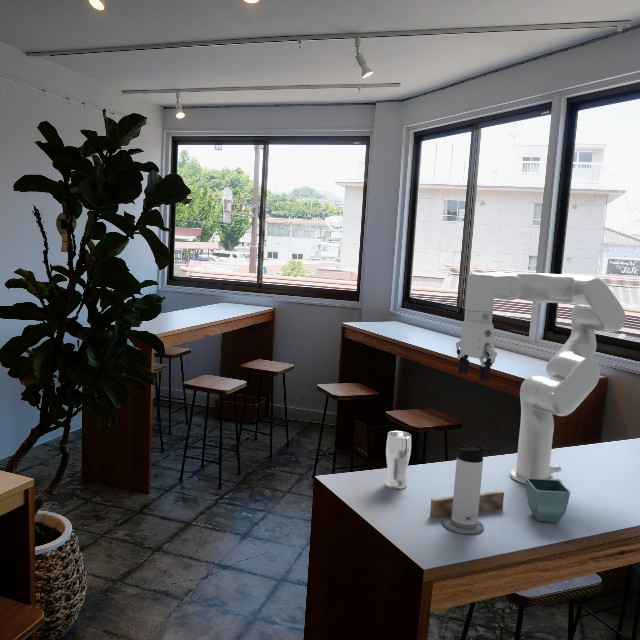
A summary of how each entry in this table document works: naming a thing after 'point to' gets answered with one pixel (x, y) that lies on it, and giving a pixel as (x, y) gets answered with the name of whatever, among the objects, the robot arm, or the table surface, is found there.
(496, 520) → the table surface
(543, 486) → the flower pot
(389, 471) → the beer glass
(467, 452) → the travel mug
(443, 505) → the rail
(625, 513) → the table surface
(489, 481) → the table surface
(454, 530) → the grey flat disc
